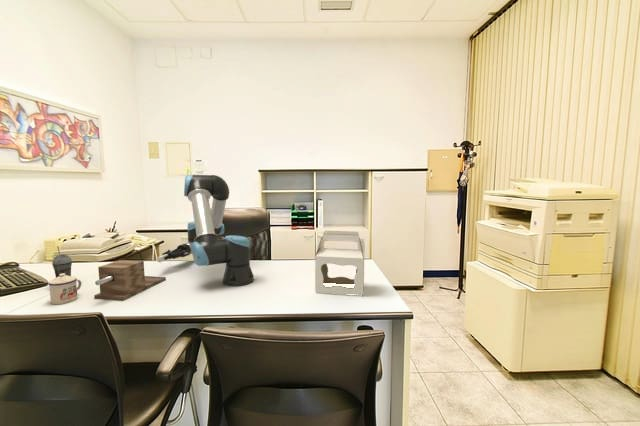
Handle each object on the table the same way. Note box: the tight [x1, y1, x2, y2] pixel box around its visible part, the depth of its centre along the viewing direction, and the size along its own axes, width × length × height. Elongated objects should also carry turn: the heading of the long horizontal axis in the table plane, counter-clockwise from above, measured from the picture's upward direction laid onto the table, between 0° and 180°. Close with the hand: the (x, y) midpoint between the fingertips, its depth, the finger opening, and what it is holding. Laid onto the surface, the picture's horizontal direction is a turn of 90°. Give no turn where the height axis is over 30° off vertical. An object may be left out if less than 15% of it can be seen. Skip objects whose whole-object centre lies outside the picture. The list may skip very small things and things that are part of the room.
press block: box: [93, 259, 167, 302], centre depth 138 cm, size 27×14×14 cm, turn 171°
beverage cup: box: [52, 245, 73, 278], centre depth 141 cm, size 7×7×20 cm
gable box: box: [314, 230, 366, 296], centre depth 138 cm, size 22×13×28 cm, turn 80°
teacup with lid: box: [47, 273, 83, 305], centre depth 126 cm, size 12×9×12 cm
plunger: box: [95, 275, 114, 286], centre depth 131 cm, size 22×6×6 cm, turn 171°
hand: (158, 259), depth 156 cm, fingers closed
